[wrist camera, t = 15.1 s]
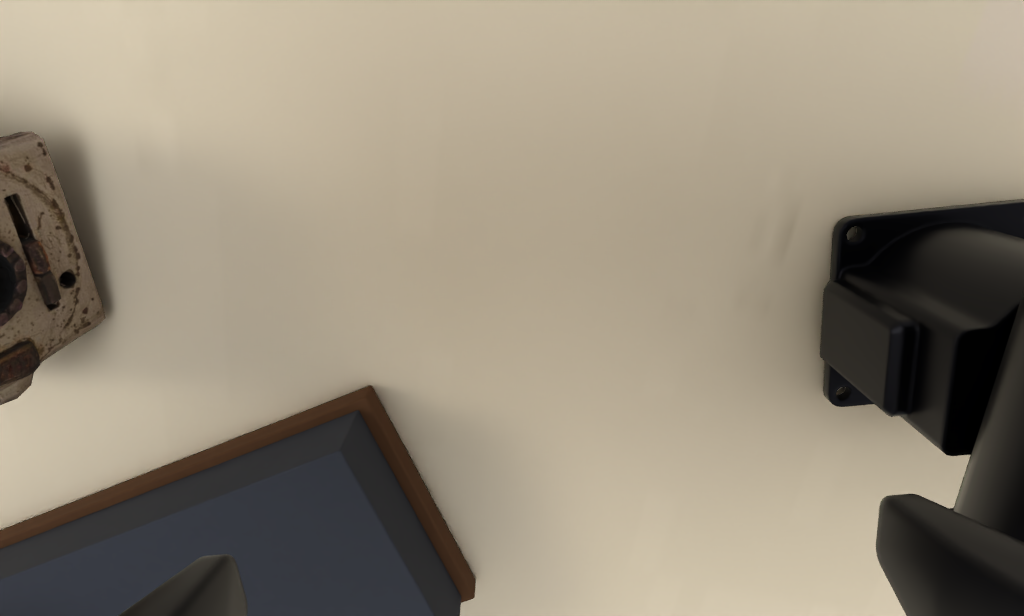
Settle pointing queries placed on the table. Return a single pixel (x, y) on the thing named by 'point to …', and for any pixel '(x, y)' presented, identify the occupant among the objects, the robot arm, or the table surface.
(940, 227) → the robot arm
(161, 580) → the blackboard eraser
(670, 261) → the table surface
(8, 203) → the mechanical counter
